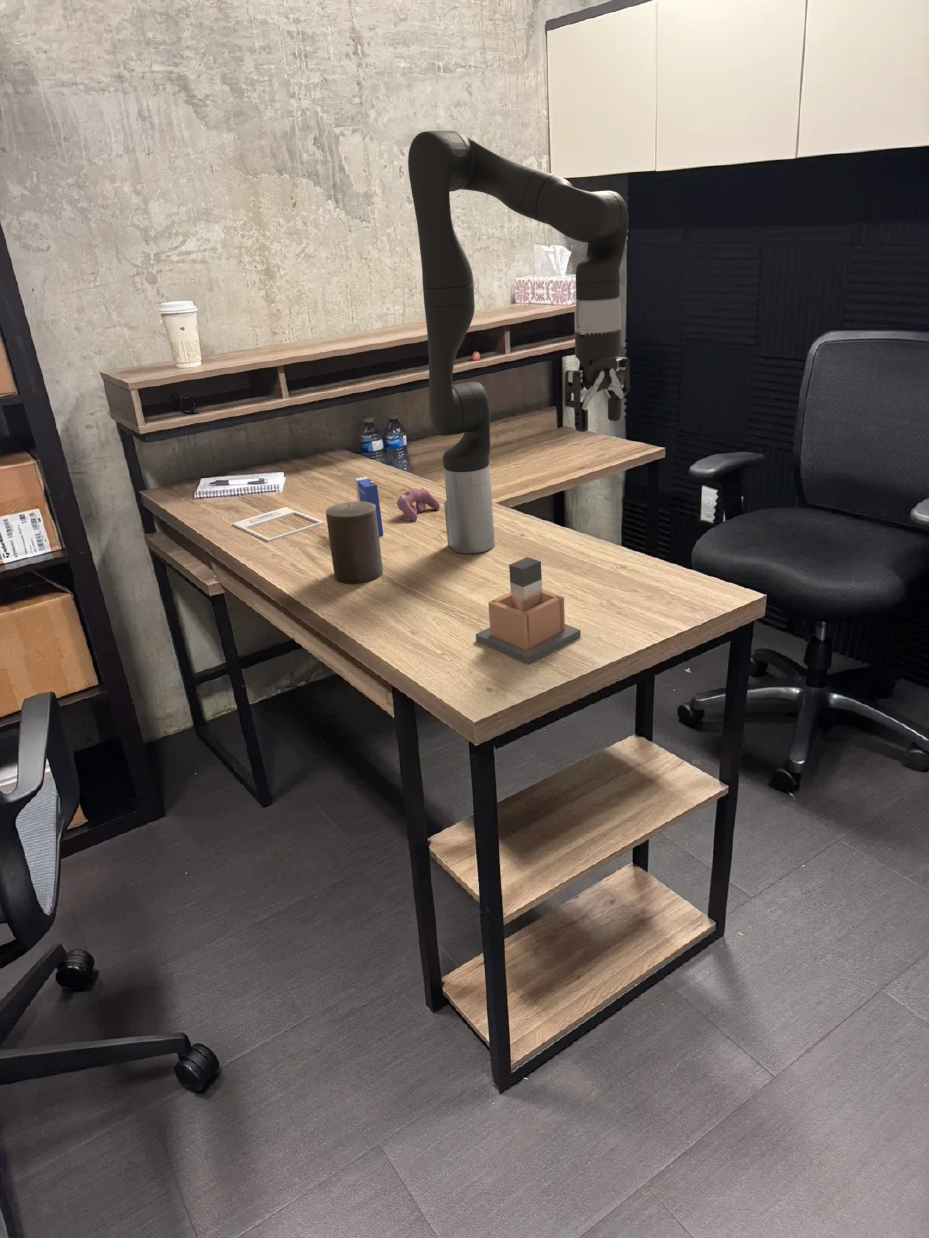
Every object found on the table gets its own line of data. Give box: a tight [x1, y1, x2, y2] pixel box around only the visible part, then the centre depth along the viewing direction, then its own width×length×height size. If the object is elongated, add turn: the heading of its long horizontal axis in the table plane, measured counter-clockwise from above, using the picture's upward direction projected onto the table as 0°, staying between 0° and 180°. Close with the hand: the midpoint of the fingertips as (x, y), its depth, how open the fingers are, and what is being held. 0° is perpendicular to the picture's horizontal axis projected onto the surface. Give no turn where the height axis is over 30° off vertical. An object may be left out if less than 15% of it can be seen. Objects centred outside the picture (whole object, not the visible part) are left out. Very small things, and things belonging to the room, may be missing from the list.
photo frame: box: [231, 506, 325, 543], centre depth 197 cm, size 15×1×18 cm
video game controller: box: [396, 487, 441, 522], centre depth 195 cm, size 10×5×7 cm, turn 142°
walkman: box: [354, 476, 384, 537], centre depth 185 cm, size 8×3×12 cm, turn 23°
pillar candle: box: [325, 500, 384, 585], centre depth 162 cm, size 10×10×15 cm
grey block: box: [508, 556, 543, 612], centre depth 133 cm, size 3×4×12 cm
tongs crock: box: [475, 588, 582, 665], centre depth 134 cm, size 12×12×7 cm
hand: (598, 425), depth 144 cm, fingers open, 8 cm apart
